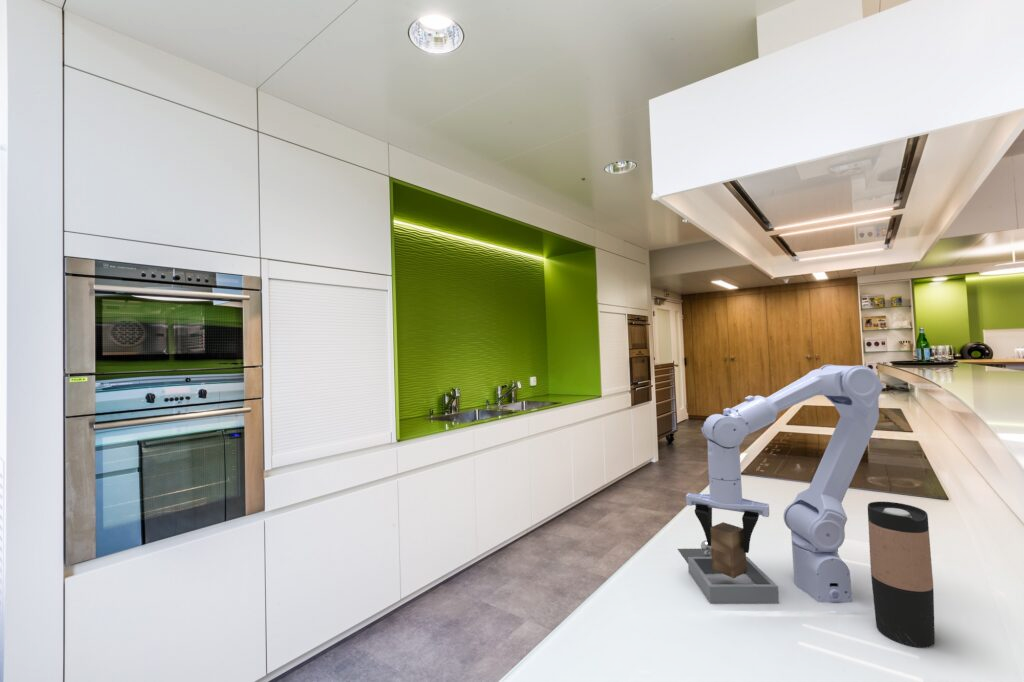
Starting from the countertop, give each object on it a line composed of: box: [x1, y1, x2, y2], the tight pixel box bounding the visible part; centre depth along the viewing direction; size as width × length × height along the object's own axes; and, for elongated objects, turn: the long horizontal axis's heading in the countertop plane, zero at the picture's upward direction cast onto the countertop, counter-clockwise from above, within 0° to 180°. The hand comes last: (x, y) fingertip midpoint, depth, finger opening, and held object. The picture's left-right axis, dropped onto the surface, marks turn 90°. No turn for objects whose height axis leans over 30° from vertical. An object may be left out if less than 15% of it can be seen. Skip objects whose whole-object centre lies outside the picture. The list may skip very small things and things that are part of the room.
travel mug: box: [867, 501, 936, 649], centre depth 73 cm, size 8×8×20 cm
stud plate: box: [677, 539, 712, 564], centre depth 99 cm, size 10×10×5 cm
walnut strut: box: [710, 521, 747, 579], centre depth 87 cm, size 4×4×8 cm
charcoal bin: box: [687, 556, 780, 605], centre depth 87 cm, size 12×12×4 cm
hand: (728, 547), depth 87 cm, fingers closed on walnut strut, 6 cm apart
